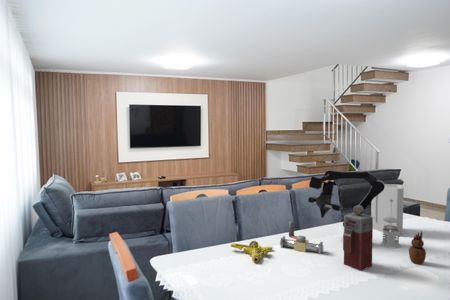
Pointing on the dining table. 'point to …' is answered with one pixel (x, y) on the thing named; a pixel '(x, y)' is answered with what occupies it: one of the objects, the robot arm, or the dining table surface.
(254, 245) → the yellow toy airplane
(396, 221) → the french press
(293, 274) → the dining table surface
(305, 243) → the valve body
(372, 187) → the robot arm
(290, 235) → the lever
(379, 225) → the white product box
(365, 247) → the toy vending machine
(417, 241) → the wooden figurine
